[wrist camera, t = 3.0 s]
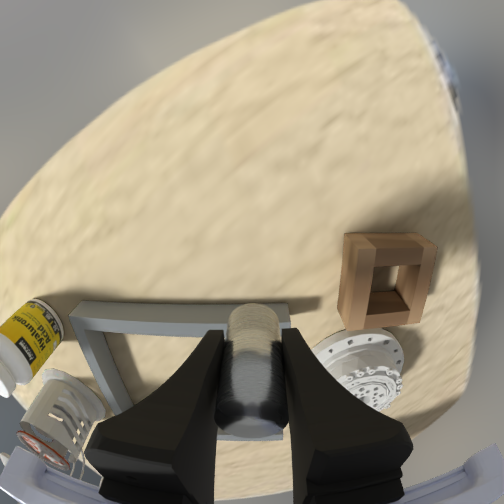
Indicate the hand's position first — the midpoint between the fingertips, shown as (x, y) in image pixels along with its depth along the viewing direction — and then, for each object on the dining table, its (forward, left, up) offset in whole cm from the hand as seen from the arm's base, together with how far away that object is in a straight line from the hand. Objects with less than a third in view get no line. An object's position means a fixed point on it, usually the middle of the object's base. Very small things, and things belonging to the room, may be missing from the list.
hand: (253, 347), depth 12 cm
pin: (0, 0, -2) cm, 2 cm away
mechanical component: (-11, -8, -9) cm, 17 cm away
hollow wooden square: (-1, -9, -9) cm, 13 cm away
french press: (-19, +23, -9) cm, 31 cm away
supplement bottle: (-6, +21, -9) cm, 24 cm away
